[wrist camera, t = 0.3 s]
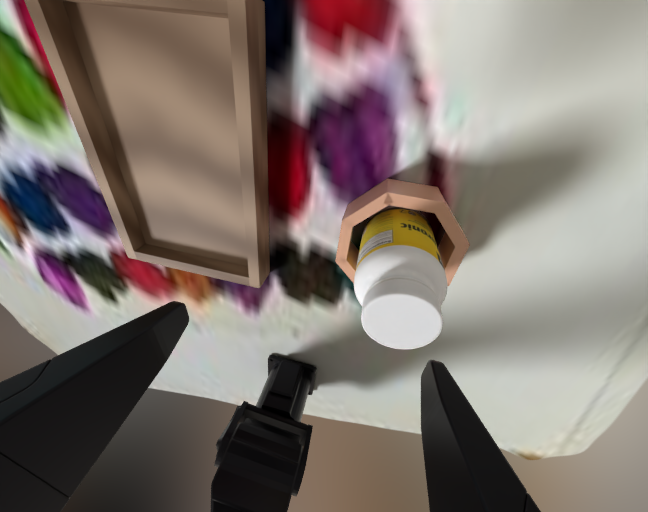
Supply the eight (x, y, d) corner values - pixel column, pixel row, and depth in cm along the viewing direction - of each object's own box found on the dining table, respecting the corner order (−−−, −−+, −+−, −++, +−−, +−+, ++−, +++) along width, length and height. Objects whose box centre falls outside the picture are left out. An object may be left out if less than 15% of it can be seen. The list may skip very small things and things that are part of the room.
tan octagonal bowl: (432, 285, 23) (437, 309, 20) (337, 265, 24) (331, 285, 21) (474, 193, 18) (487, 209, 15) (353, 172, 19) (347, 185, 16)
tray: (269, 272, 26) (259, 288, 24) (147, 245, 28) (128, 257, 26) (264, 2, 15) (244, -12, 13) (58, -18, 16) (10, -33, 14)
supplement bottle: (445, 241, 20) (481, 341, 12) (387, 271, 23) (385, 369, 15) (407, 188, 19) (419, 263, 11) (349, 227, 21) (325, 310, 13)
